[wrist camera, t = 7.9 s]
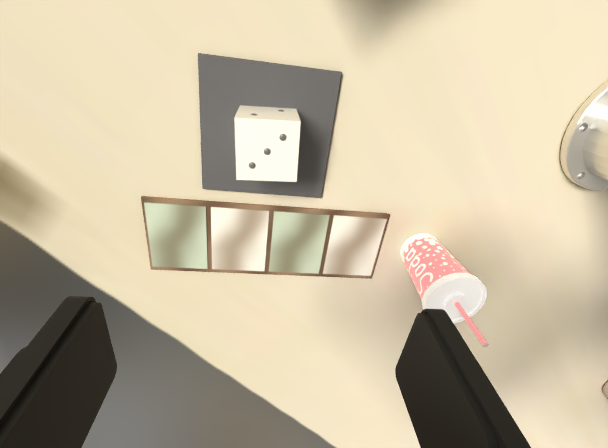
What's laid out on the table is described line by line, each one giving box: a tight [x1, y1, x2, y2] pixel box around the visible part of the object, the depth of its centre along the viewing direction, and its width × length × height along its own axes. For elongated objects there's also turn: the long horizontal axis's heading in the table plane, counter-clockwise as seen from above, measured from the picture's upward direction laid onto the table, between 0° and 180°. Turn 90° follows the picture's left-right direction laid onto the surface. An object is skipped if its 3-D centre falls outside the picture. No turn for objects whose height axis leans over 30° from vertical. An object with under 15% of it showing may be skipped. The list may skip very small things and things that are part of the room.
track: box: [141, 196, 390, 278], centre depth 36 cm, size 26×9×1 cm, turn 83°
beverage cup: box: [400, 233, 488, 347], centre depth 33 cm, size 6×6×14 cm
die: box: [234, 105, 301, 182], centre depth 28 cm, size 5×5×5 cm
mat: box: [198, 53, 342, 198], centre depth 30 cm, size 12×12×1 cm
